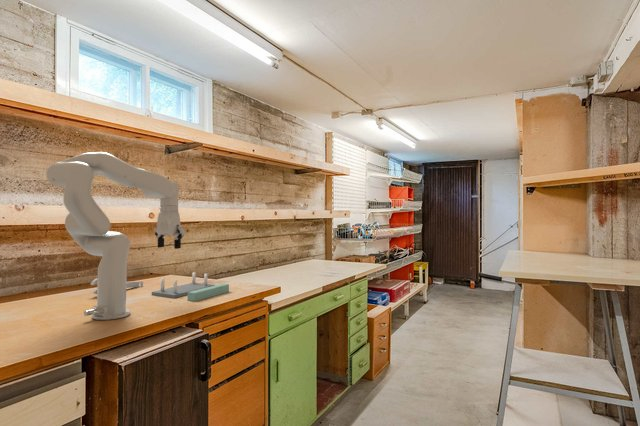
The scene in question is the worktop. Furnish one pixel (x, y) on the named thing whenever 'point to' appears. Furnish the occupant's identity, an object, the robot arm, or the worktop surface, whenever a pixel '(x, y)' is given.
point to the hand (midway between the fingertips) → (169, 247)
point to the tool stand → (181, 287)
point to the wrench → (128, 284)
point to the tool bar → (207, 292)
